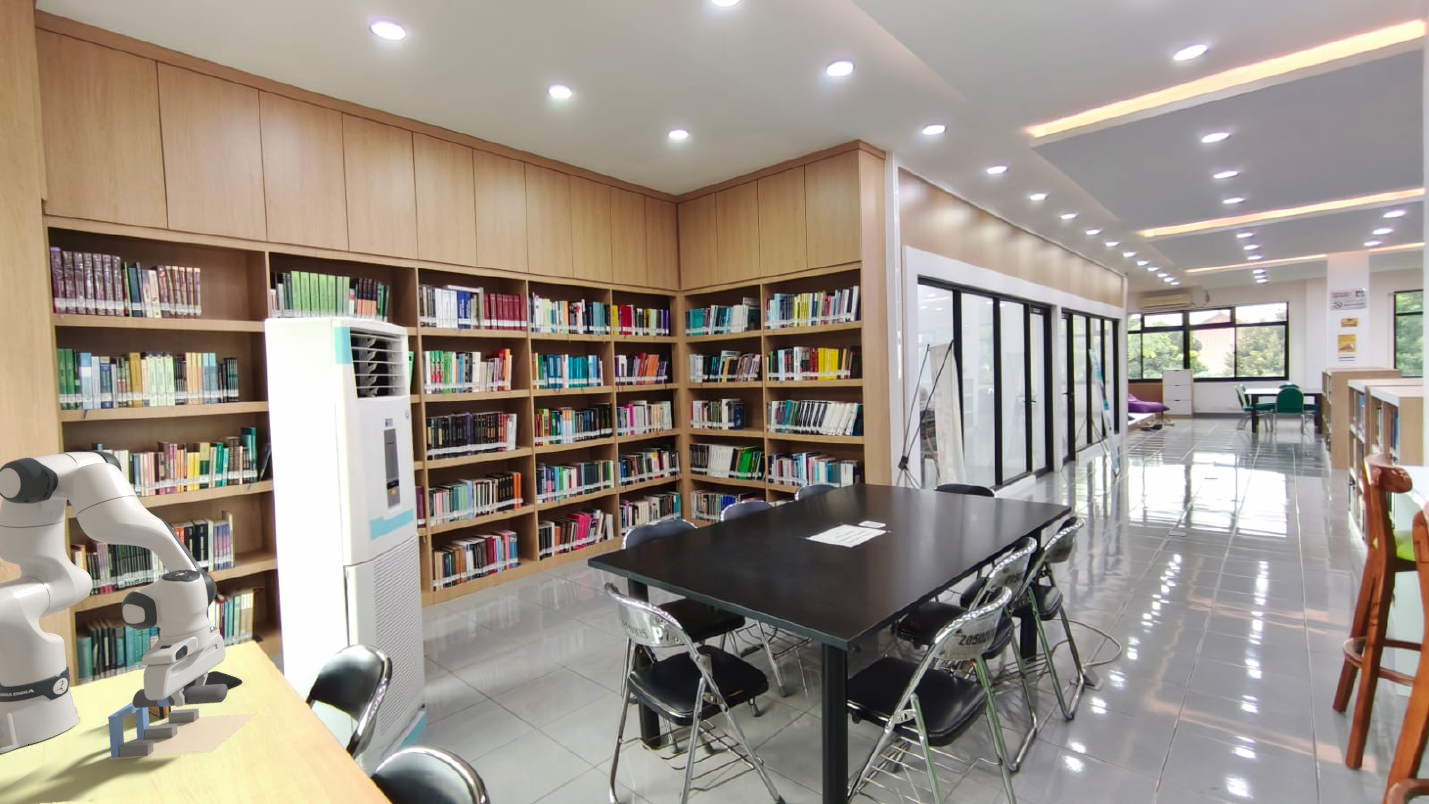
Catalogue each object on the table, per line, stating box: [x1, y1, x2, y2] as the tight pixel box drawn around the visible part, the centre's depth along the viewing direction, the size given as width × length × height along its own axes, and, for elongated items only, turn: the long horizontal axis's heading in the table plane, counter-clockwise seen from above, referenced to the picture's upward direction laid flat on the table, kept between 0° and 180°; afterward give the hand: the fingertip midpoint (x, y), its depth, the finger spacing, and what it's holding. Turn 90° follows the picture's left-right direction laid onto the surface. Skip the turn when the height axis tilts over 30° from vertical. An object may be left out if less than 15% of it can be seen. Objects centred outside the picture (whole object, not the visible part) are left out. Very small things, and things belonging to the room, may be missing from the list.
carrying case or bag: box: [185, 670, 243, 691], centre depth 174 cm, size 11×3×15 cm
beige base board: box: [108, 708, 259, 760], centre depth 150 cm, size 22×17×4 cm
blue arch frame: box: [107, 701, 150, 758], centre depth 146 cm, size 2×9×10 cm, turn 4°
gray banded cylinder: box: [132, 684, 229, 708], centre depth 146 cm, size 18×4×4 cm, turn 94°
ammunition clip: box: [148, 706, 172, 720], centre depth 161 cm, size 11×2×12 cm, turn 61°
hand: (190, 699), depth 146 cm, fingers closed on gray banded cylinder, 4 cm apart
